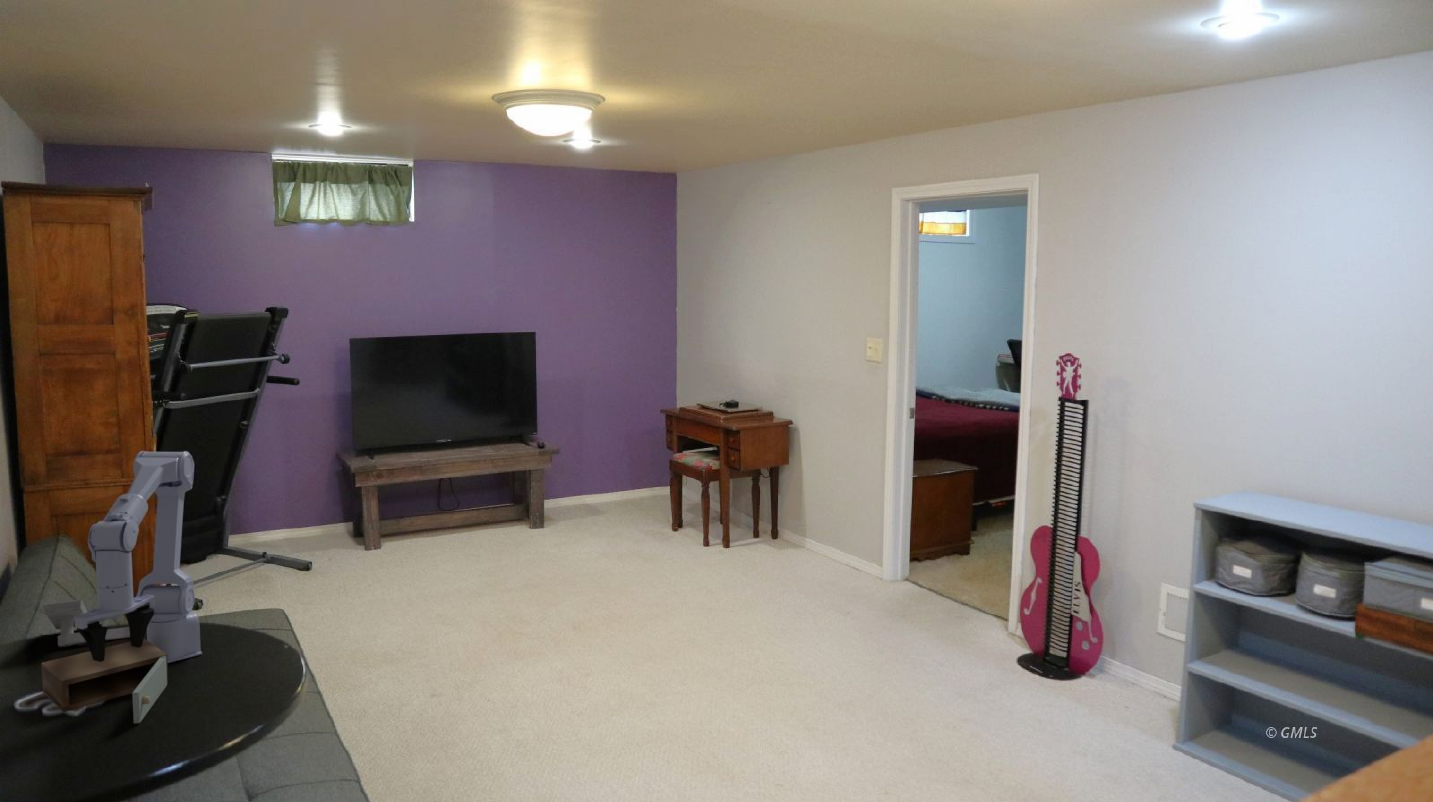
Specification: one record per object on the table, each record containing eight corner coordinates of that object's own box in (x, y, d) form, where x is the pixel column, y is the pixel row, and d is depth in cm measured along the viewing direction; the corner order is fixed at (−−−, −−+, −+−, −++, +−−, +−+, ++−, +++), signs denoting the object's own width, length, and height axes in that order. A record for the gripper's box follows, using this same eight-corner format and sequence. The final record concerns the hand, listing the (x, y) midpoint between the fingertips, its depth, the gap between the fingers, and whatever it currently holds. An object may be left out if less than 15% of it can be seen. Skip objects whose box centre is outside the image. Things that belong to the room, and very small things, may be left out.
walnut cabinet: (145, 665, 199) (144, 638, 198) (168, 683, 191) (167, 654, 191) (43, 692, 185) (41, 662, 185) (63, 711, 178) (61, 681, 177)
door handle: (55, 658, 216) (43, 642, 199) (54, 622, 218) (42, 604, 202) (146, 644, 224) (141, 627, 208) (144, 610, 227) (139, 591, 211)
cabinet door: (162, 684, 190) (161, 656, 190) (173, 683, 191) (172, 655, 190) (133, 723, 174) (132, 692, 173) (146, 722, 174) (144, 691, 174)
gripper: (135, 570, 188) (138, 636, 190) (61, 591, 174) (65, 663, 176) (161, 575, 185) (164, 642, 187) (88, 597, 172) (92, 669, 174)
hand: (118, 653), depth 181 cm, fingers open, 7 cm apart
